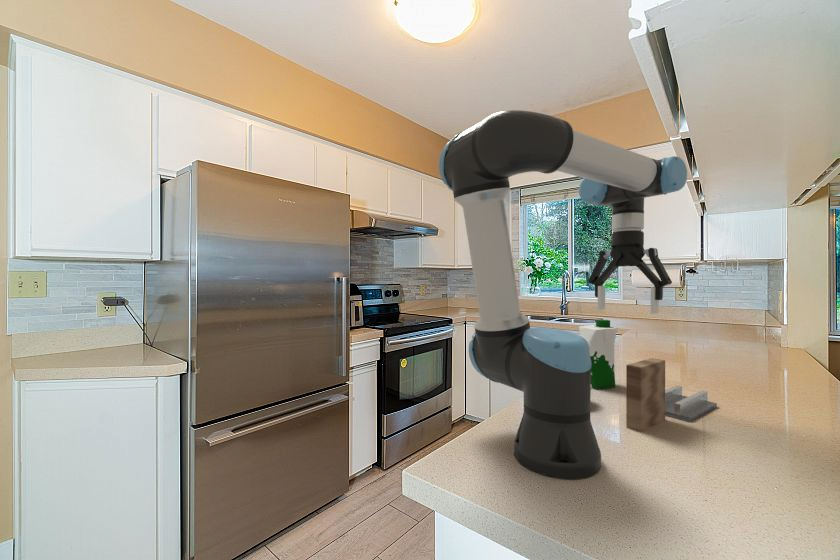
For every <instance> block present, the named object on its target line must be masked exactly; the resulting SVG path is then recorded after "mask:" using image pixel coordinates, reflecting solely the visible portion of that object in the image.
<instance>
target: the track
mask: <svg viewBox="0 0 840 560" xmlns="http://www.w3.org/2000/svg"><path fill="white" fill-rule="evenodd" d="M708 394H709V393H708V391H707V390H700V391H698V392H695V393H694V394H691V395H689V396H687V395H683V386H682V385H674V386H672V387H669V388H667V389H665V417H669V418H673V419H677V420H681V421H685V422H689V423H691V422H693V421H695V420H696V419H698V418H700V417H702V416H704V415H705V414H708V413H709V412H710V411H712V410H714V409H716V408H717V407H718V403H717V402H714V401H713V402H712V401H709V400H708V399H709V398H708Z"/></svg>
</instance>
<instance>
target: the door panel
mask: <svg viewBox="0 0 840 560" xmlns="http://www.w3.org/2000/svg"><path fill="white" fill-rule="evenodd" d="M625 374H626V377H625V378H626V388H625V389H626V391H625V392H626V396H625V397H626V399H625V401H626V402H625V403H626V404H625V405H626V406H625V407H626V412H625V413H626V415H625V416H626V417H625V419H626V423H625V425H626V426H625V427H626V429H629V430H633V431H635V430H636V431H635V432H638V431H639V433H643V432H644V431H646V430H648V429H650V428H651V427H654V426H657V424H660V423H662V422H664V421H666V415H665V390H666V360H665V359H660V358H653V357H651V358H647V359H643V360H640V361H635V362H633V363H632V362H631V363H629V364H626V373H625Z"/></svg>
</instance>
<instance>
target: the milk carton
mask: <svg viewBox="0 0 840 560" xmlns="http://www.w3.org/2000/svg"><path fill="white" fill-rule="evenodd" d="M578 328H579V336H581V337H583V338H584V339H585V340H586V341H587V342H588V345H589V347H590V359H591V363H592V366H591V385H592V389H594V388H595V390H602V389H612V388H616V375H615V342H616V335H617V331H618V327H614V326H613V327H612V326H611V320H610V319H595V325H584V326H581V325H579V326H578Z"/></svg>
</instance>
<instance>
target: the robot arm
mask: <svg viewBox="0 0 840 560" xmlns="http://www.w3.org/2000/svg"><path fill="white" fill-rule="evenodd" d="M438 159H439V160H438V171H439V175H440V179H441V181H442V183H443V184H444V185H446V187H447V188H448V189H449V190H450V191H452V194H453V200H454V202H456V203H457V204H458V205H460V207H462V212H463V216H464V223H465V229H466V236H467V241H468V247H469V255H470V261H471V268H472V274H473V280H474V287H475V294H476V299H477V300H476V301H477V307H478V313H479V318H478V320H477V321H476V322H475V324H474V333H473V334H472V336H471V338H472V339H471V340H470V341H469V345H468V355H469V361H470V362H471V364H472V367H473V368H474V369H475V371H476V373H477V372H478V373H479V374H480V375H481V376H483V377H484V378H486V379H488V380H490V381H491V382H494V383H497V384H498V383H499V384H502V385H505V386H507V387H510V388H513V389H516V390H518V391H521V392H523V414H522V417H521V421H520V423H519V426H518V429H517V432H516V435H515V438H514V442H513V444H514V445H513V447H514V448H513V450H514V451H513V454H514V457H515V460H517V462H518V463H519V464H521V465H522V466H523V467H525V468H527V470H530V471H532V472H535V473H537V474H540V475H543V476H547V477H551V478H557V479H564V480H567V479H568V480H578V479H579V480H581V479H586V478H590V477H593V476H594V475H596V474H598V473H599V472H600V471H601V468H602V452H601V449H600V447H599V443H598V440H597V437H596V434H595V431H594V427H593V425H592V421H591V391H592V389H591V366H592V363H591V359H590V347H589V345H588V342H587V341H586V340H585V339H584V338H583V337H581V335H580V334H577V333H574V332H571V331H568V330H563V329H556V328H551V327H531V326H530V325H531V324H530V319H529V317H528V316H526V314H524V313H522V312H521V308H520V306H521V305H520V301H519V294H518V293H519V292H518V288H517V279H516V273H515V267H514V260H513V254H512V253H513V252H512V246H511V239H510V233H509V232H510V231H509V226H508V225H509V224H508V218H507V212H506V206H505V205H506V204H505V198H506V197H507V196H508V194H509V192H510V191H511V186H510V180H509V179H510V178H511V177H512V176H515V175H519V174H523V173H524V174H525V173H532V172H537V173H542V174H547V175H549V174H553V173H556V172H561V173H564V174H568V175H572V176H574V177H578V178H582V180H581V181H580V184H579V187H578V195H579V197H580V199H581V200H582V201H583V202H584V203H586V204H591V205H592V206H602V207H610V208H611V211H612V212H611V231H613V232H612V233H611V250H609V251H608V250H603V249H602V250H600V251H599V258H598V260H597V262H596V264H595V265H594V268H593V270H592V272H591V274H590V276H589V277H588V280H587V282H588V283H589V284H591V285H593V286H594V297H595V298H597V310H599V311H601V310H606V286H605V285H604V284H605V282H606V281H607V280H608V279H609V278H610V277H611V276H612V274H613V273H614V272H615V271H616V270H617V269H618V268H619V267H636V268H638V269H639V271H641V272H642V274H643V275H644V276H645V277H646V279H648V280H649V282H651V284H652V285H653V287H652V286H651V287H650V314H653V315H654V314H659V301H663V298H664V294H663V293H664V290H663V289H664V287H666V286H669V285H672V283H673V282H672V281H673V280H671V278H670V276H669V273H668V272H667V271H666V270H667V269H666V268H665V267H664V265H663V262H662V261H661V259H660V258H659V254H658V253H659V252H658V249H657V248H654V247H649V248H646V249H645V248H644V246H645V244H644V243H645V232H644V231H643V229H645V199H646V198H650V197H656V196H661V195H667V194H670V193H676V192H679V191H681V190H682V189H683V188H684V187H685V186H686V184H687V183H686V182H687V180H688V169H687V165H686V163H685V161H684V160H683V159H682V158H681V157H680V156H676V155H675V156H669V157H663V158H660V159H655V158H651V157H649V156H645V155H644V154H640V153H639V152H635V151H632V150H630V149H626V148H623V147H621V146H618V145H615V144H612V143H610V142H607V141H604V140H602V139H598V138H596V137H593V136H590V135H588V134H584V133H582V132H579V131H577V130H574V127H573V126H572V125H571V123H570V122H569V121H567V120H564V119H561V118H559V117H555V116H553V115H549V114H546V113H541V112H536V111H529V110H520V109H513V110H503V111H499V112H495V113H493V114H491V115H489V116H487V117H486V118H484V119H483V120H481V121H480V122H478V123H476V124H474V125H473V126H471V127H469V128H468V129H465V130H463V131H461V132H459V133H457V134H456V135H454V136H453V138H451V140H449V141H448V142H447V143H446V144H445V145H444V147H443V149H442V150H441V152H440V156H439V158H438ZM645 255H646V257H647V258H649V261H650V262H651V264H652V266H653V268H654V270H655V271H656V274H657V275H658V276H657V275H656V274H655V273H654V272H653V271H652V269H651V268H650V267H649V266H648V265H647V263H646V262H645V261H644V260H643V258H644V256H645ZM609 258H612V260H611V261H610V262H609V263H608V265H607V267H606V268H605V265H606V263H607V262H608V259H609ZM604 268H605V270H604Z"/></svg>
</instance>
